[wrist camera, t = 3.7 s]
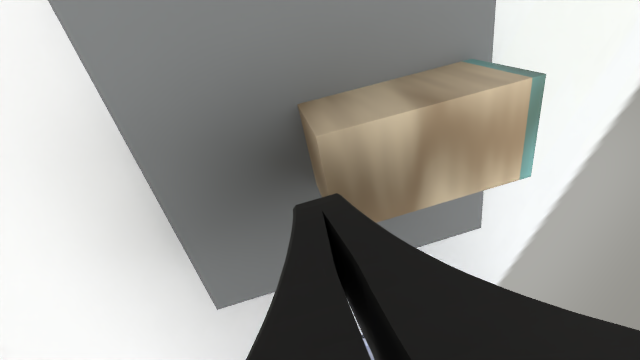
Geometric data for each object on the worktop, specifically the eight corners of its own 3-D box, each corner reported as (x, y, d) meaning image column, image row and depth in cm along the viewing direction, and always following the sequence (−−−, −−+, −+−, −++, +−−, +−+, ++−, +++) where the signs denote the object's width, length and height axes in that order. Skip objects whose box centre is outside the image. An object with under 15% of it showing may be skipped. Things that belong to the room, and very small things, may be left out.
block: (316, 184, 15) (469, 141, 16) (337, 234, 12) (530, 176, 13) (297, 104, 13) (471, 58, 14) (315, 136, 10) (546, 73, 11)
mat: (475, 222, 20) (480, 227, 19) (217, 302, 18) (217, 309, 18) (494, -120, 12) (503, -125, 11) (42, -25, 10) (33, -26, 10)
